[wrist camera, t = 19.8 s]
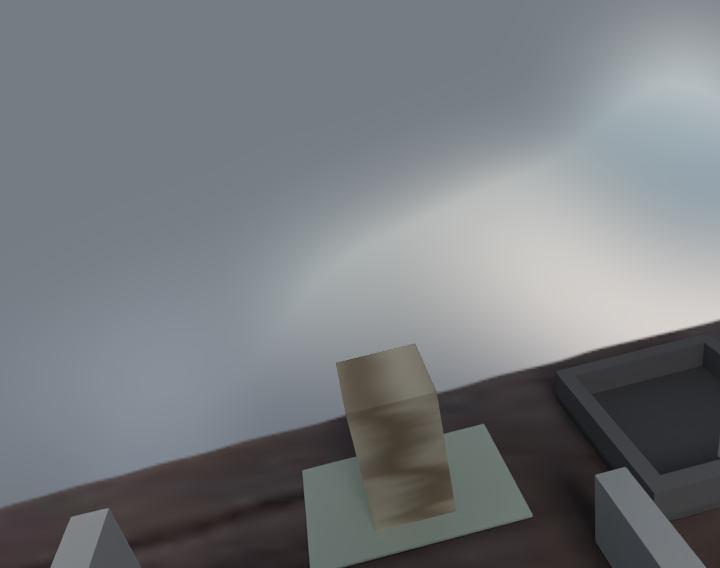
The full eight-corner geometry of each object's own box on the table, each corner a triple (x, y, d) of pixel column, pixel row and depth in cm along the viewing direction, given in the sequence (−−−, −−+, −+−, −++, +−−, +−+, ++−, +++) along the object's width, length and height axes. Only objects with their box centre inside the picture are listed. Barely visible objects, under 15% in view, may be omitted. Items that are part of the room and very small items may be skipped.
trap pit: (705, 360, 51) (708, 332, 50) (848, 472, 38) (857, 439, 37) (556, 398, 50) (554, 371, 49) (652, 525, 38) (654, 493, 36)
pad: (484, 425, 49) (483, 423, 49) (532, 516, 40) (532, 514, 40) (302, 472, 48) (302, 470, 48) (311, 575, 39) (310, 574, 39)
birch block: (434, 454, 47) (415, 343, 42) (455, 511, 42) (436, 391, 37) (363, 472, 47) (335, 362, 42) (376, 531, 41) (345, 414, 36)
